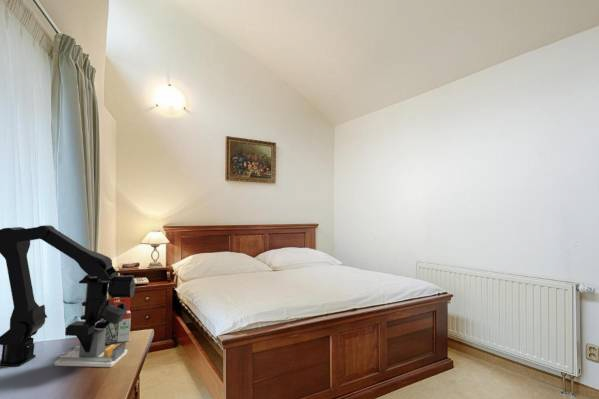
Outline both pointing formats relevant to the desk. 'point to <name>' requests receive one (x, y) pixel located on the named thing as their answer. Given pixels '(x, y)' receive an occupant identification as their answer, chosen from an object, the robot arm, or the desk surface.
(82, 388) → the desk surface
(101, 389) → the desk surface
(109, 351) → the bar
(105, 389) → the desk surface
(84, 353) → the block
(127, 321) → the ink box
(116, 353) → the rail plate
